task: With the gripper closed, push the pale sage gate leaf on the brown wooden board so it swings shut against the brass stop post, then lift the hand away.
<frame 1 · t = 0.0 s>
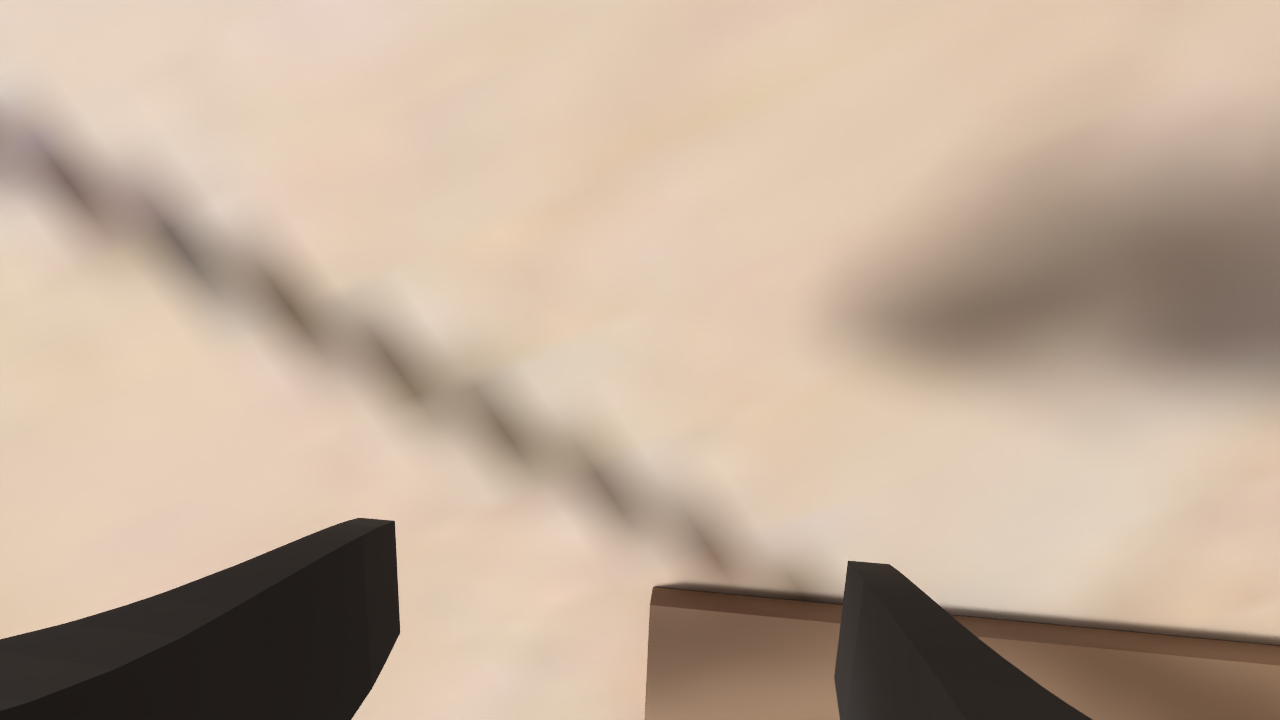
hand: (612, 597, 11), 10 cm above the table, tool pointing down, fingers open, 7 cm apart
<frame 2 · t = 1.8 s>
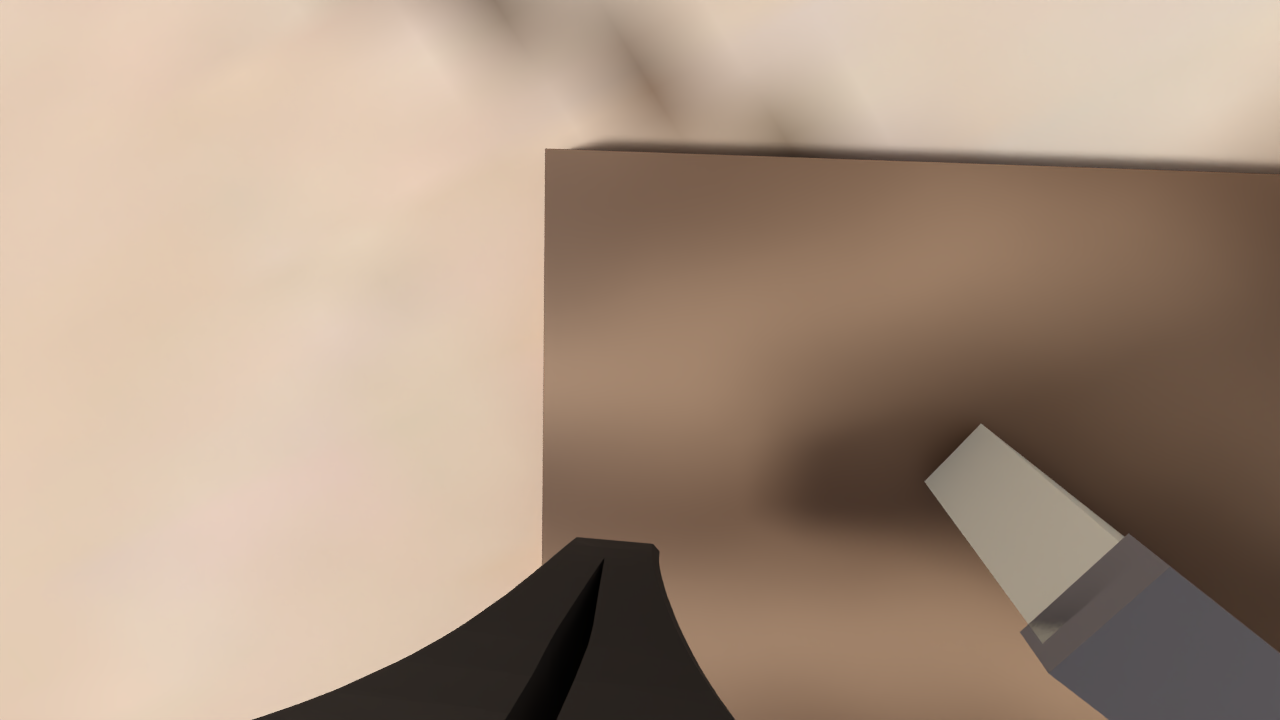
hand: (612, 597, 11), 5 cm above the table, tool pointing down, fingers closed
brown wooden board: (1065, 540, 15), on the table
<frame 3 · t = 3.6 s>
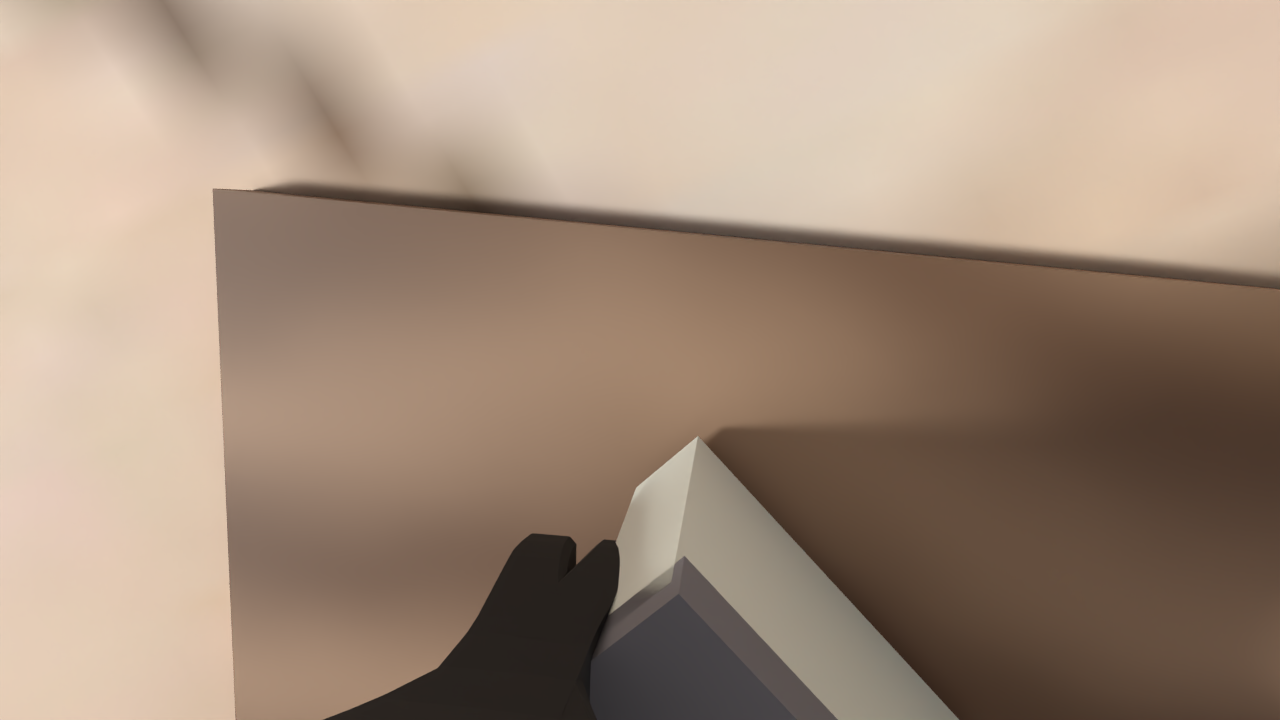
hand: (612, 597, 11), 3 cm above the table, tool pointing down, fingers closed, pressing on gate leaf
brown wooden board: (756, 612, 14), on the table
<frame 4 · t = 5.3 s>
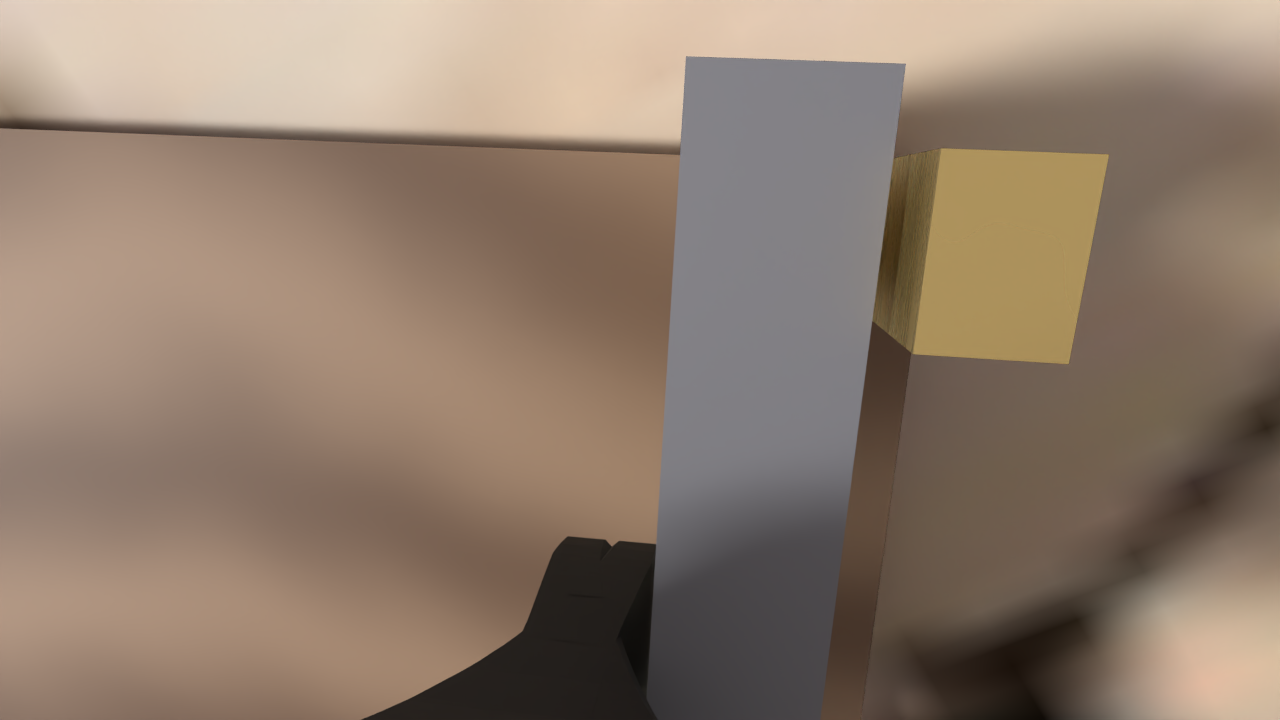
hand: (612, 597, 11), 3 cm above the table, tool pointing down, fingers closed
gate leaf: (731, 546, 10), point 4 cm above the table, hinge at -0.4°, touching gripper
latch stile: (853, 224, 12), resting on brown wooden board
brown wooden board: (343, 508, 15), on the table
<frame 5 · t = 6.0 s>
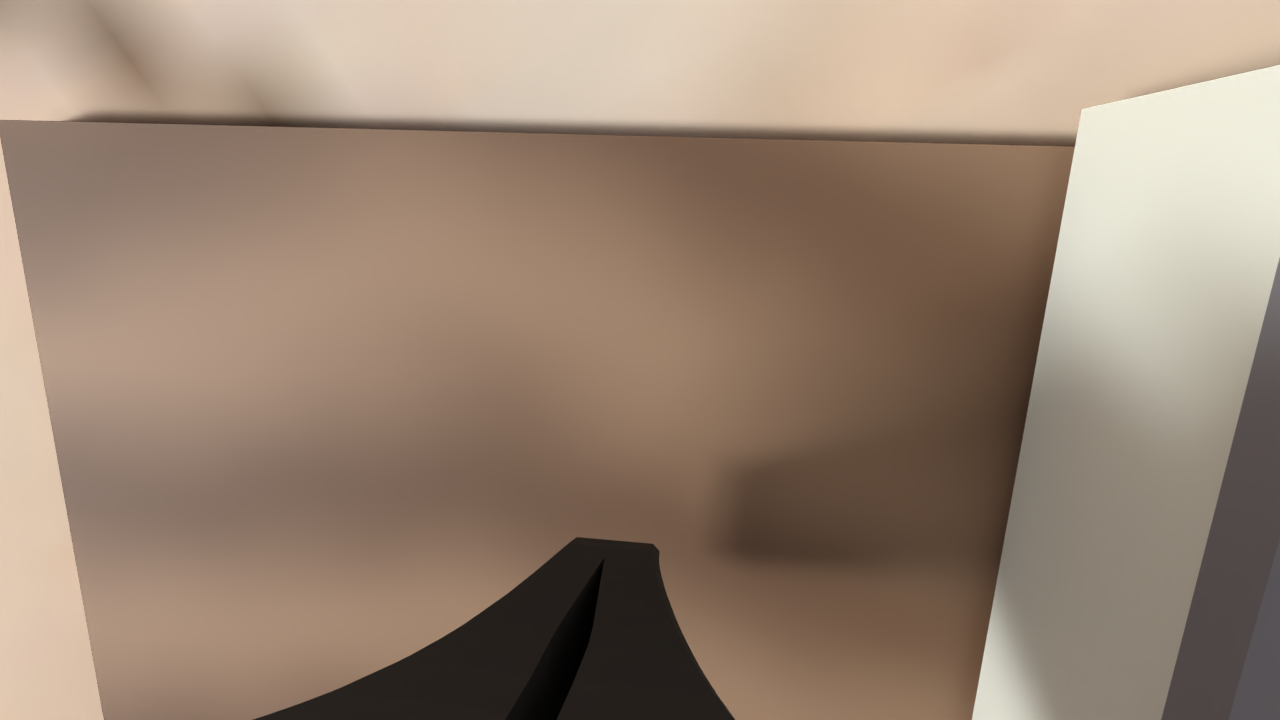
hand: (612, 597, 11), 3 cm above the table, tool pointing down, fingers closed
gate leaf: (1160, 565, 9), point 4 cm above the table, hinge at -0.5°
brown wooden board: (598, 521, 14), on the table
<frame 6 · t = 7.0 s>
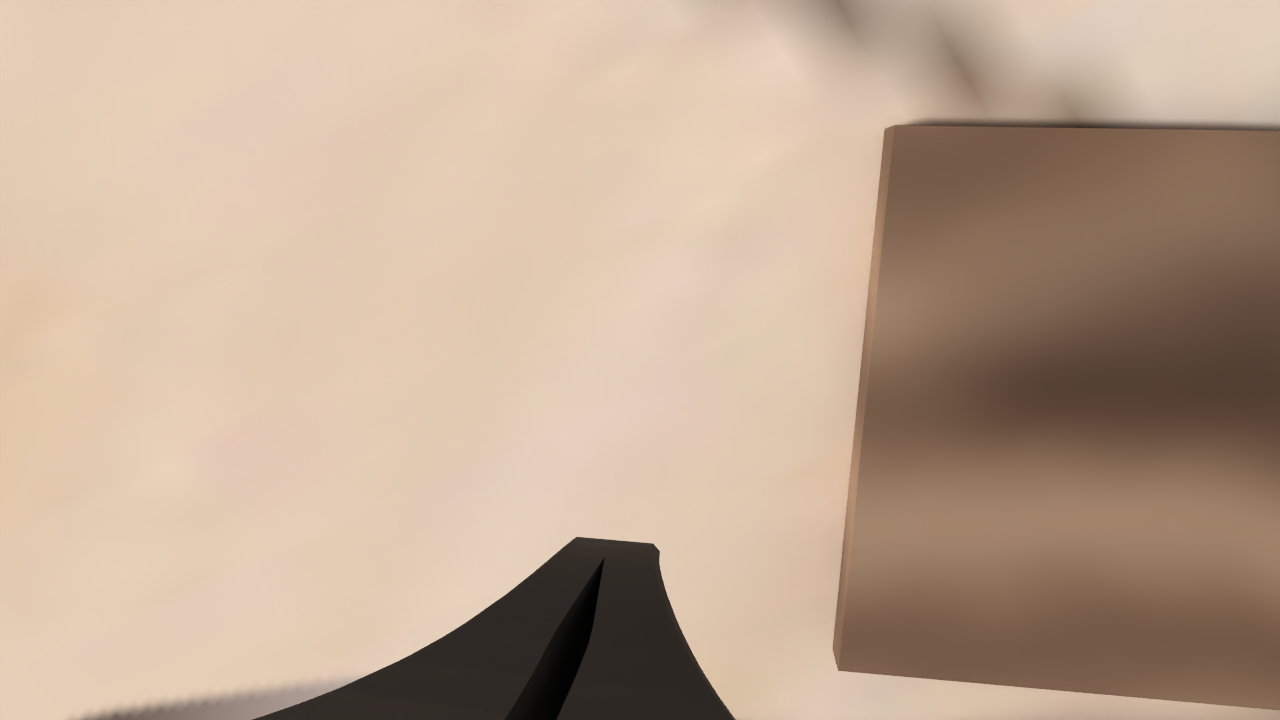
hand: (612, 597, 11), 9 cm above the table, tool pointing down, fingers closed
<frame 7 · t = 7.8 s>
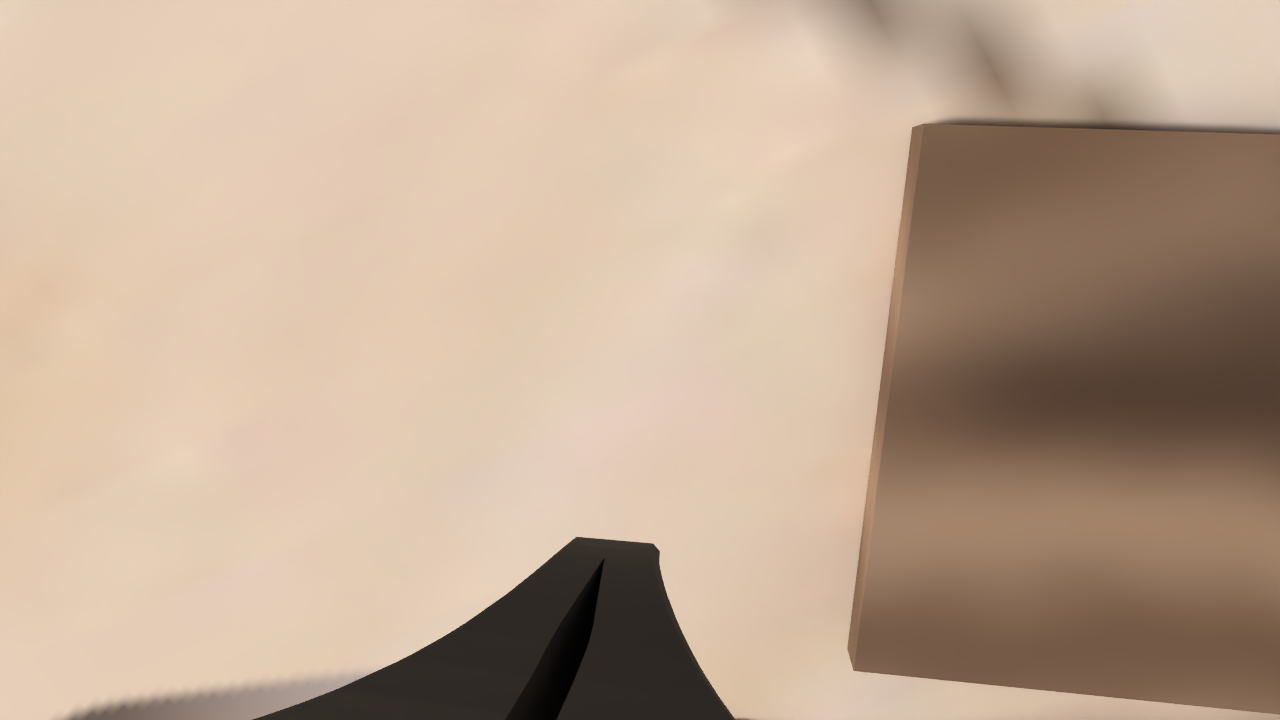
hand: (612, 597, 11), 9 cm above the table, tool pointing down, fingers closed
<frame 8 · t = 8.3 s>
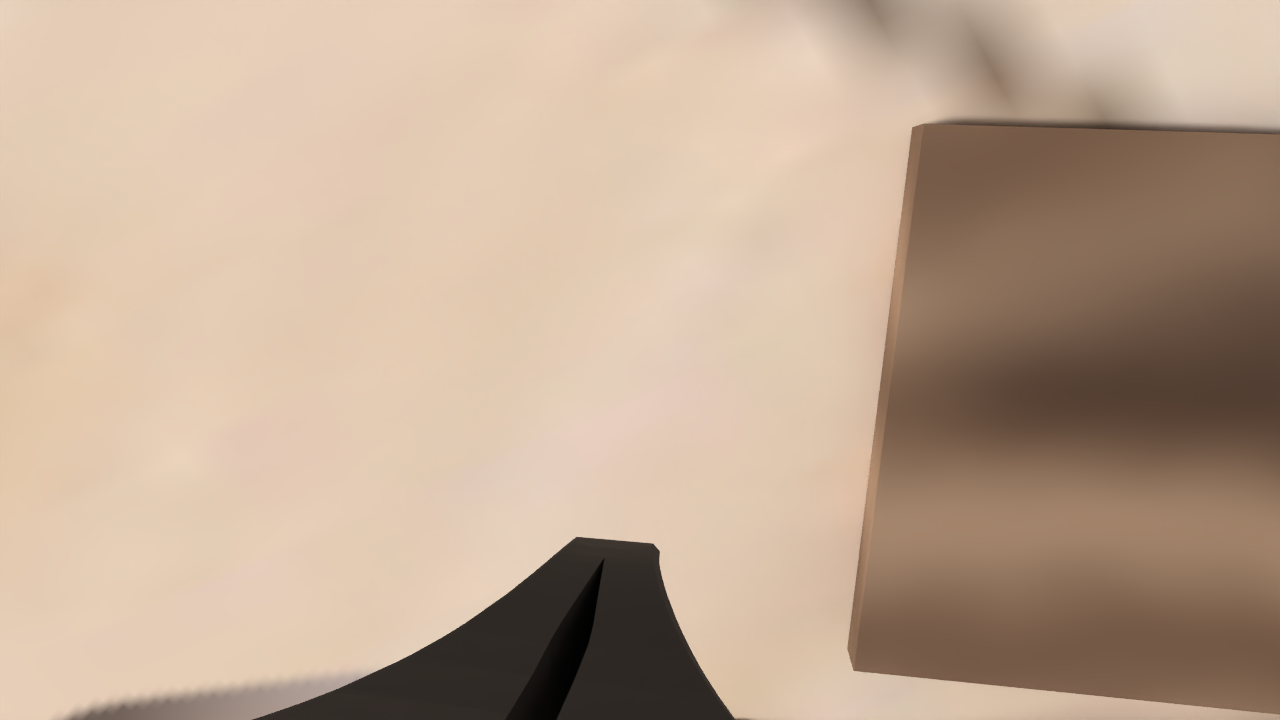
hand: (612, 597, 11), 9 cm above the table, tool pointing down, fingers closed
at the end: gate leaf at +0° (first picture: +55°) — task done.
